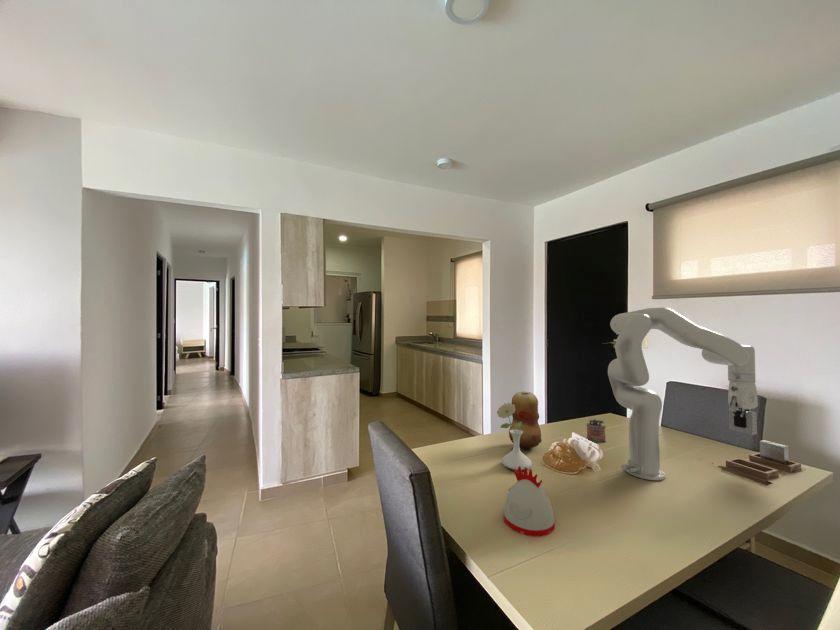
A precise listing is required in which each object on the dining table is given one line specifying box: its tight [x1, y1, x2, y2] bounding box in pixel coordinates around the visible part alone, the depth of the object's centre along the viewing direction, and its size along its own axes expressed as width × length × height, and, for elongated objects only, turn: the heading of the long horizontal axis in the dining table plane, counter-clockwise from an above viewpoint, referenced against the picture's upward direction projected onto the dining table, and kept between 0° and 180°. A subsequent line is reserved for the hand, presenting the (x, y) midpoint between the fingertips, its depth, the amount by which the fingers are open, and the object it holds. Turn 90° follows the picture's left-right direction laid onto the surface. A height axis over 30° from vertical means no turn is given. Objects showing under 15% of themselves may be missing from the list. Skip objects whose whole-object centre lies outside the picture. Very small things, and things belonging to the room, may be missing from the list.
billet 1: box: [727, 408, 758, 436], centre depth 126 cm, size 3×7×8 cm, turn 22°
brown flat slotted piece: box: [720, 451, 806, 486], centre depth 125 cm, size 26×13×4 cm, turn 110°
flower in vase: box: [496, 402, 533, 471], centre depth 130 cm, size 13×11×25 cm
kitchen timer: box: [502, 466, 556, 538], centre depth 95 cm, size 14×14×15 cm
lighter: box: [586, 418, 607, 443], centre depth 159 cm, size 8×3×10 cm, turn 62°
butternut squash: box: [508, 391, 542, 450], centre depth 149 cm, size 14×13×25 cm
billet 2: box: [759, 439, 790, 465], centre depth 128 cm, size 3×7×8 cm, turn 20°
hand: (742, 425), depth 126 cm, fingers closed on billet 1, 3 cm apart
